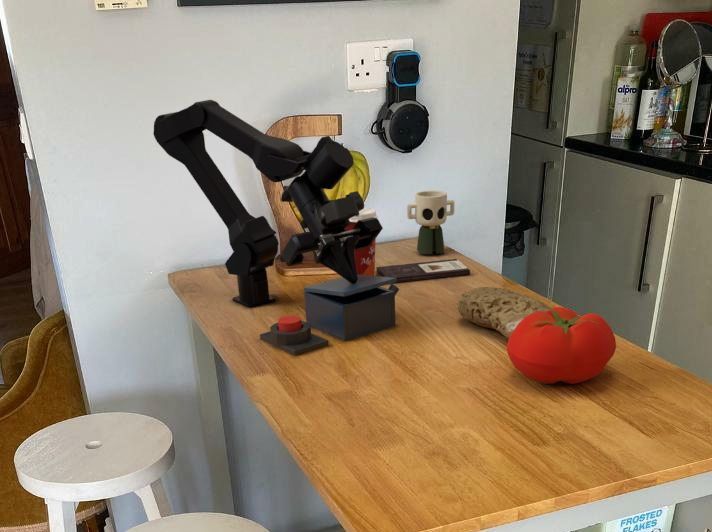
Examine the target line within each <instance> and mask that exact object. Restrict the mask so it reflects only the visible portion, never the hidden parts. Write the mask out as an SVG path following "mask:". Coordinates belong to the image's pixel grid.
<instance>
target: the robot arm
mask: <svg viewBox="0 0 712 532" xmlns="http://www.w3.org/2000/svg"><path fill="white" fill-rule="evenodd" d="M206 130H207V131H208V132H210V133H212V134H213V135H215V136H216V137H218V138H219V139H221V140H222V141H224V142H226V143H228V145H230V146H232V147H233V148H235V149H236V150H238V151H240V152H241V153H243V154H245V155H246V156H248V158H249V159H251V160H252V162H253V164H254V166H255V168H256V169H257V170H258V171H259V173H260V174H262V175H263V176H264V177H266V178H267V180H269V182H272V183H280V182H284V181H287V180H290V179H293V180H291V182H290V183H289V184H288V185H284V186H283V190H282V193H281V196H280V201H281V202H283V203H289V202H292V203H293V204H294V206H295V207H296V210H297V211H298V213H299V215H300V217H301V219H302V221H301V222H300V226H301V229H303V230H304V229H307V230H308V231H305V232H301V233H296V234H292V235H291V236H290V238H289V239H288V242H287V243H286V244H285V247H284V248H283V251H282V259H283V260H284V262H285V264H286V266H287V267H294V266H297V265H301V264H302V263H303V261H304V255H303V254H305V253H306V254H307V253H310V252H313V251H315V253H316V256H317V257H316V258H315V263H316V264H317V265H318V264H321V265H323V266H324V267H325V268H328V269H329V270H331V271H333V272H334V273H335V274H337V275H339V276H340V277H343V278H345V279H346V280H347V281H349V282H350V283H352V284H353V283H356V282H357V281H358V277H357V270H356V263H355V255H354V249H356V250H358V249H363V248H367V247H369V246H370V245H371V244H372V243H373V242H374V240H375V239H376V240H377V238H378V236H379V235H380V233H381V232H382V230H383V229H384V227H383V225H382V224H381V222H380V220H379V219H378V218H374V217H371V218H367V219H362V220H358V221H357V223H356V224H355V226H354V227H353V229H352V230H349V231H345V227H347V226H348V225H349V224H350V221H349V219H350V218H352V217H353V216H355V215H356V216H358V215H359V211H360V210H362V209H364V207H365V203H364V199H363V197H362V196H361V194H360V193H359V191H358V190H356V191H351V192H349V193H348V194H346V195H345V196H344V197H340V198H336V199H329V197H328V196H327V193H326V192H325V190H333V189H334V188H336V186H337V185H338V184H339V183H340V182H341V180H342V179H343V178H344V177H345V175H347V173H348V172H349V171H350V170H351V169H352V167H353V166H354V164H355V163H354V162H355V161H354V157H353V155H352V153H351V152H350V150H349V149H348V148H347V147H345V146H344V145H342V144H341V143H340V142H338V141H335V140H333V139H332V137H331V136H330V135H326V136H322V137H321V138H320V139H319V140H318V142H317V144H316V145H315V147H314V148H313V149H312V151H306V150H304V149H303V148H302V146H301V145H299V144H297V142H296V143H295V142H293V141H291V140H288V139H285V138H282V137H279V136H278V137H277V136H273V135H269V134H266V133H264V132H262V131H261V130H260V129H257V128H256V127H255V126H253V125H252V124H250V123H248V122H246V121H245V120H244V119H241V117H238V116H237V115H235V114H234V113H232V112H231V111H229V110H227V109H226V108H224V107H223V106H221V105H220V104H219V102H217V101H216V100H214V99H205V100H201V101H196V102H194V103H193V104H191V105H190V106H187V107H186V108H183V109H180V110H179V111H175V112H169V113H164V114H159V115H157V117H156V118H155V119H154V122H153V134H152V135H153V137H154V139H155V141H156V142H157V144H158V145H159V146H160V147H161V149H163V151H164V152H165V153H166V154H167V155H168V156H169V157H171V158H172V159H174V160H176V161H178V162H179V163H181V164H183V165H184V166H185V167H184V168H186V169H187V171H188V172H189V174H190V175H191V177H192V178H193V180H194V181H195V182H196V184H197V186H198V187H199V189H200V190H201V191H202V193H203V194H204V196H205V198H206V199H207V200H208V202H209V203H210V205H211V206H212V208H213V209H214V210H215V212H216V213H217V215H218V216H219V218H220V219H221V221H222V222H223V224H224V225H225V227H226V228H227V231H228V232H227V233H228V240H229V246H230V247H231V250H232V253H231V255H230V256H229V257H228V258H227V260H226V261H225V263H224V265H225V268H226V271H227V273H228V274H229V275H233V276H236V279H237V280H236V281H237V288H238V295H237V296H234V297H232V301H233V302H236V303H238V304H240V305H242V306H244V307H247V308H252V307H255V306H259V305H263V304H267V303H270V302H271V303H272V302H275V301H276V300H277V298H276V297H275V296H273V295H271V294H270V291H269V290H270V289H269V280H268V272H267V268H269V267H272V266H274V264H275V263H274V262H275V258H276V256H277V255H278V251H279V244H280V243H279V240H278V237H277V236H276V234H277V232H276V231H275V230H274V229H273V228H272V227H271V225H270V223H269V221H268V219H267V218H266V217H265V216H264V215H260V216H258V217H255V216H253V215H251V214H250V213H249V211H248V210H247V209H246V207H245V206H244V204H243V203H242V200H240V199H239V197H238V195H237V194H236V192H235V191H234V190H233V188H232V186H231V185H230V184H229V182H228V180H227V179H226V178H225V176H224V175H223V173H222V171H220V168H218V166H217V165H216V163H215V161H214V159H213V158H212V157H211V155H210V154H209V153H208V151H207V149H206V140H205V133H204V132H205V131H206Z"/></svg>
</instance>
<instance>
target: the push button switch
mask: <svg viewBox="0 0 712 532" xmlns="http://www.w3.org/2000/svg"><path fill="white" fill-rule="evenodd" d="M301 322H302V329H300V330H297V331H291V332H285V331H280V330H279V326H278V322H275V323H273V324H272V325H270V326H269V330H270V331H266V332H263V333H259V339H260V340H261V341H263V342H265V343H267V344H269V345H271V346H274V348H277V349H280V350H282V351H284V352H286V353H288V354H290V355H292V356H293V357H297V356H300V355H303V354H307V353H310V352H313V351H316V350H319V349H322V348H326V347H328V346H329V340H328V339H325V338H323V337H321V336H319V335H317V334H315V333H312V327H310V324H309V323H307V322H306V320H301Z"/></svg>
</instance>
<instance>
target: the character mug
mask: <svg viewBox="0 0 712 532" xmlns="http://www.w3.org/2000/svg"><path fill="white" fill-rule="evenodd" d="M447 193H448V192H446V191H442V190H422V191H419V192H416V193H415V194H414V202H413V203H409V204H407V205H406V206H407V207H406V210H407V211H406V212H407V213H406V214H407V219H408V220H415V223H416V224H417V225H419V226H420V227H419V230H418V236H417V244H416V251H417V252H418V253H419V254H424V255H433V252H434V253H435V254H441V253H443V252H445V241H444V233H443V228H442V226H441V225H443V224H445V223H446V222H447V218H448V217H449V216H453V215H455V200H453V199H449V200H448V194H447ZM448 206H449V210H448ZM412 209H414V213H413V214H412Z"/></svg>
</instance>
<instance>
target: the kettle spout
mask: <svg viewBox="0 0 712 532" xmlns="http://www.w3.org/2000/svg"><path fill="white" fill-rule="evenodd" d="M387 289H388V290H391V291H394V292H395V296H397V294H398V292H399V291H400V288H399V287H398V286H397V285H396V284H394V283H391V284H389V286H388V288H387Z"/></svg>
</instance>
